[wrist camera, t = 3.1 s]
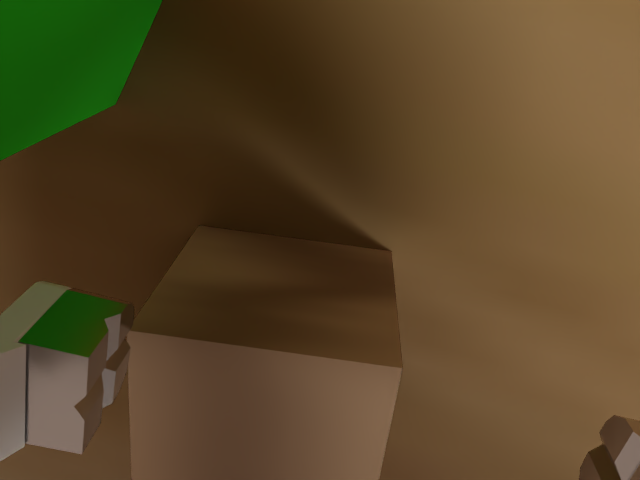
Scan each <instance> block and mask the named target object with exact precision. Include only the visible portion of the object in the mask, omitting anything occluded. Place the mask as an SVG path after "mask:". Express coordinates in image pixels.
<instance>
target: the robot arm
mask: <svg viewBox="0 0 640 480" xmlns="http://www.w3.org/2000/svg"><path fill="white" fill-rule="evenodd" d="M133 319H134V307H133V304H132V303H131V302H127V301H123V300H119V299H115V298H111V297H107V296H103V295H99V294H95V293H91V292H87V291H83V290H79V289H75V288H70V287H67V286H63V285H59V284H54V283H50V282H46V281H40V282H36V283H34V284H33V285H32V286H31V287H30V288H29V289H28V290H27V291H25V292H24V293H23V294H22V295H21V296H20V297H19V298H18V299H17V300H16V301H15V302H13V303H12V304H11V305H10V306H9V307H8V308H7V309H6V310H5V311H4V312H3V313H1V314H0V461H2V460H3V459H5V458H7V457H8V456H10V455H12V454H13V453H15V452H17V451H18V450H20V449H22V448H23V447H25V444H31V445H36V446H41V447H46V448H51V449H57V450H62V451H67V452H72V453H77V454H82V453H83V452H84V450H85V448H86V447H87V445H88V443H89V442H90V440H91V438H92V437H93V435H94V433H95V432H96V430H97V428H98V427H99V425H100V423H101V416H102V408H104V407H106V406H108V405H110V404H112V403H113V401H114V400H115V398H116V396H117V394H118V392H119V391H120V388H121V385H122V383H123V380H124V378H125V375H126V371H127V367H128V363H129V357H130V349H131V347H130V346H129V344H128V342H127V341H126V339H125V337H126V335H127V334H128V332H129V331H130V329H131V328H132V326H133ZM599 433H600V437H601V440H602V445H600V446H599V447H597V448H595V449H593V450H591V451H589V452H588V453H587V455H586V457H585V459H584V461H583V463H582V465H581V467H580V475H579V480H640V421H639V420H634V419H630V418H625V417H621V416H616V415H614V416H613V417H611V418H610V419H609V420H607V421H606V422H605V424H604V426H603V427H602V429H601V431H600V432H599Z"/></svg>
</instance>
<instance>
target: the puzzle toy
mask: <svg viewBox="0 0 640 480" xmlns="http://www.w3.org/2000/svg"><path fill="white" fill-rule="evenodd" d="M162 1H163V0H0V161H1V160H3V159H5V158H7V157H9V156H11V155H13V154H15V153H17V152H19V151H21V150H23V149H25V148H27V147H29V146H31V145H33V144H35V143H37V142H39V141H42V140H44V139H46V138H48V137H50V136H52V135H54V134H56V133H58V132H60V131H62V130H64V129H66V128H68V127H70V126H72V125H74V124H76V123H78V122H80V121H82V120H85V119H87V118H89V117H91V116H93V115H95V114H97V113H99V112H101V111H103V110H105V109H107V108H109V107H111V106H113V105H115V104H116V103H117V100H118V98H119V96H120V94H121V91H122V89H123V87H124V85H125V83H126V80H127V78H128V76H129V74H130V72H131V69H132V67H133V65H134V63H135V60H136V58H137V56H138V54H139V52H140V49H141V47H142V45H143V43H144V40H145V38H146V36H147V34H148V32H149V29H150V27H151V25H152V23H153V20H154V18H155V16H156V14H157V12H158V9H159V7H160V5H161V3H162Z"/></svg>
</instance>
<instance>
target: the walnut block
mask: <svg viewBox="0 0 640 480" xmlns="http://www.w3.org/2000/svg"><path fill="white" fill-rule="evenodd" d="M127 342H128V344H129V346H130V347H131V349H130V357H129V363H128V389H129V421H130V453H131V480H379V477H380V473H381V468H382V463H383V459H384V454H385V449H386V444H387V440H388V435H389V430H390V426H391V421H392V416H393V412H394V407H395V402H396V397H397V393H398V388H399V383H400V379H401V374H402V369H403V366H402V356H401V346H400V335H399V325H398V315H397V304H396V294H395V284H394V273H393V263H392V253H391V251H386V250H379V249H371V248H364V247H357V246H349V245H342V244H334V243H327V242H319V241H312V240H304V239H297V238H289V237H282V236H275V235H267V234H260V233H252V232H245V231H237V230H230V229H222V228H215V227H207V226H200V225H199V226H198V227H197V229H196V230H195V232H194V233H193V235H192V236H191V238H190V239H189V240H188V242H187V243H186V245H185V246H184V248H183V249H182V251H181V252H180V254H179V255H178V256H177V258H176V259H175V261H174V262H173V264H172V265H171V267H170V268H169V270H168V271H167V272H166V274H165V275H164V277H163V278H162V280H161V281H160V283H159V284H158V286H157V287H156V288H155V290H154V291H153V293H152V294H151V296H150V297H149V299H148V300H147V302H146V303H145V304H144V306H143V307H142V309H141V310H140V312H139V313H138V315H137V316H136V317H135V319H134V320H133V326H132V328H131V329H130V331H129V332H128V334H127Z"/></svg>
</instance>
